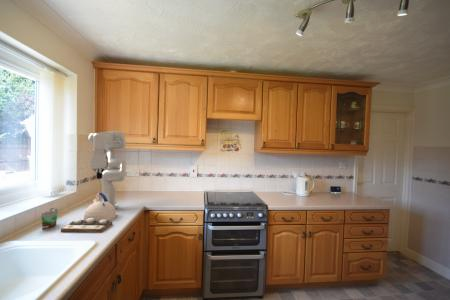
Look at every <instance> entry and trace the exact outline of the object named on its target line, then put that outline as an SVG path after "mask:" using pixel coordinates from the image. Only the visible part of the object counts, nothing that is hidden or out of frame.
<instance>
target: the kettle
mask: <svg viewBox="0 0 450 300" xmlns="http://www.w3.org/2000/svg"><path fill="white" fill-rule="evenodd" d="M100 197H101V199H102V198H103V199H104V201H102V200H100ZM106 201H108V200H107V198H106V196H105V195H104V194H103V193H102V192H98V193H97V194H96V196H95V198H93V200H92V202H93V203H91V204H90V205H89V206H88V207H87V208H86V210H85V212H84V214H83V220H85V221H87V219H88V218H94V220H97V221H100V220H104V219H105V220H110V221H111V220H112V219H115V218H116V217H117V213H116V209H115V208H114V206H113V205H112V204H110V203H109V202H106Z"/></svg>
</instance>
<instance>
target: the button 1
mask: <svg viewBox="0 0 450 300" xmlns="http://www.w3.org/2000/svg"><path fill="white" fill-rule="evenodd" d="M81 220H82V219H81V218H79V219H74V220H73V221H74V223H80V222H81Z"/></svg>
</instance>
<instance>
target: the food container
mask: <svg viewBox="0 0 450 300" xmlns="http://www.w3.org/2000/svg"><path fill="white" fill-rule="evenodd" d="M58 214H59V210H58V208H56V207H50V210H47V211H45V212H44V213H43V212H42V213H41V216H40V217H41V229H42V230H47V229H51V228H54V227H56V226H57V220H58Z"/></svg>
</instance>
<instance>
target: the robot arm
mask: <svg viewBox="0 0 450 300" xmlns="http://www.w3.org/2000/svg"><path fill="white" fill-rule="evenodd" d="M87 138H88V142H89V144H91V145H93V149H92V153H91V158H90V170H91V171H93V172H95V173H96V180H101V193H103V194H104V195H105V196H106V198H107V200H108V201H106V202H109V203H110V204H112V205H113V206H114V208H115V210H117V209H118V205H116V204H117V203H118V202H117V200H116V186H115V184H114V182H115V183H116V182H118V183H119V182H123V181H124V180H125V178H126V169H127V167H126V166H127V161H126V160H125V159H123V158H118V156H119V155H118V153H117V152H116V151H115V150H124V149H126V147H127V141H126V138H125V134H124V133H123V131H120V130H119V131H118V130H108V131H102V132H92V133H90V134H89V135H88V137H87ZM101 201H104V199H103V198H102V197H101Z"/></svg>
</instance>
